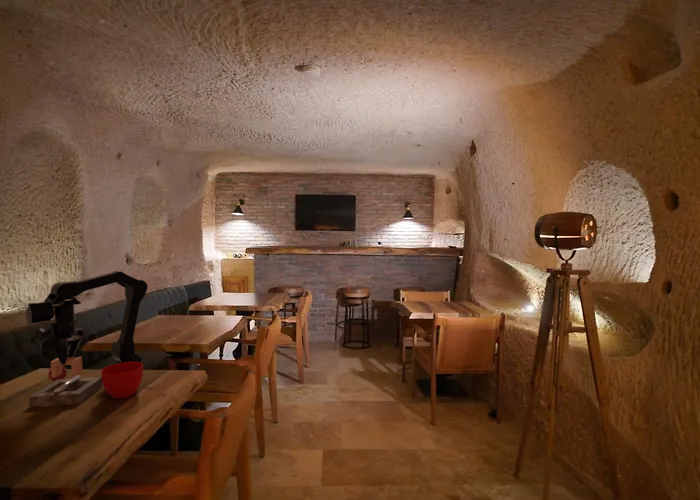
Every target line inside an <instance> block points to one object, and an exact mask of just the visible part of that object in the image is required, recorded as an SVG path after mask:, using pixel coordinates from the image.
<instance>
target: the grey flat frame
mask: <svg viewBox="0 0 700 500" xmlns="http://www.w3.org/2000/svg"><path fill="white" fill-rule="evenodd" d="M71 379H72V378H64V379H60V380H56V381H52V382H51V383H50V384H47V385H46V386H45V387H43V388H41V389H39V390H38V391H36V392H35V393H33V394H31V395H29V396H28V404H29V407H28V408H41V407H42V408H44V407H45V408H46V407H58V406H72V405H75V406H76V405H81V404H82V403H83V402H84V401H86V400H87V399H88V398H89V397H91V396H92V395H93V394H95V393H96V392H98V391H99V390H100V389H101V388H102V387H103V382H102V376H98V377H81V378H80V379H79V380H77V381H76V382H74V383H73V384H71V385H70V386H68V387H67V388H65V389H64V390H62V391H61V392H59V393H58V394H54V393H53V391H54V390H55V389H57V388H58V387H60V386H61V385H63V384H64V383H66V382H68V381H69V380H71Z"/></svg>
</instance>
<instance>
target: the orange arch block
mask: <svg viewBox="0 0 700 500" xmlns="http://www.w3.org/2000/svg"><path fill="white" fill-rule="evenodd" d="M69 365H70V366H71V377H75V376H77V375H80V374H81V373H83V356H74V357H69V358H68V357H67V361H66V364H64V365H62V364H61V363H60V360H59V358H58V357H56V358H54V359H53V360H52V361H50V369H51V377H57V376H59V375H60V374H62V373H63V369H62V366H69Z"/></svg>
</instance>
